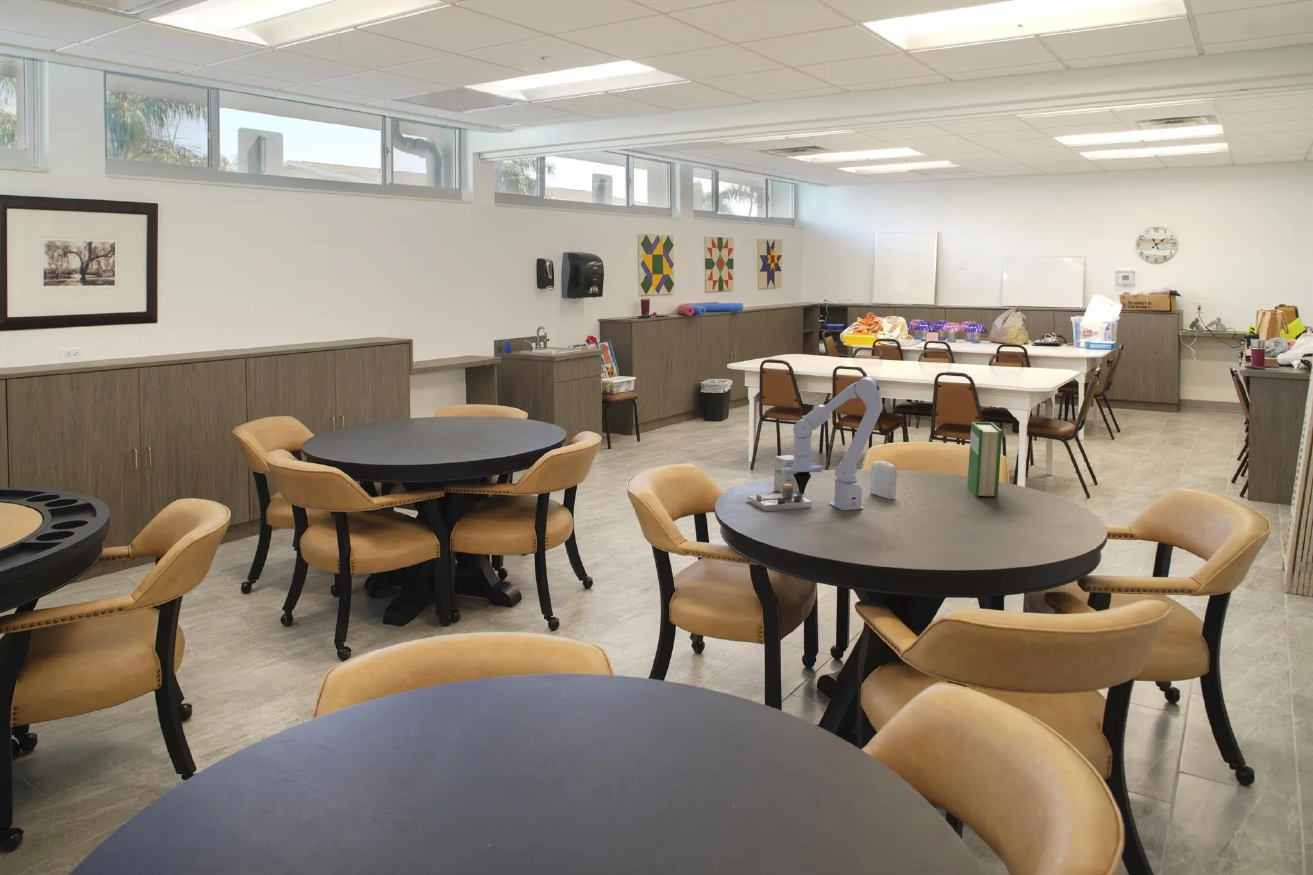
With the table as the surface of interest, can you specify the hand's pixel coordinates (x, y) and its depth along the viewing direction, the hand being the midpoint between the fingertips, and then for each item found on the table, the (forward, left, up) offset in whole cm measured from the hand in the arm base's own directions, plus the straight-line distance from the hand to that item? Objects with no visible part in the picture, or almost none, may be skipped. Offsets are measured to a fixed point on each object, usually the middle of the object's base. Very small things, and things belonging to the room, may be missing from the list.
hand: (801, 493), depth 318 cm
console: (0, +8, -3) cm, 9 cm away
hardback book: (-6, -69, -3) cm, 69 cm away
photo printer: (0, -32, -3) cm, 32 cm away
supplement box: (+16, -3, -3) cm, 17 cm away
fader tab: (0, +5, -1) cm, 5 cm away
